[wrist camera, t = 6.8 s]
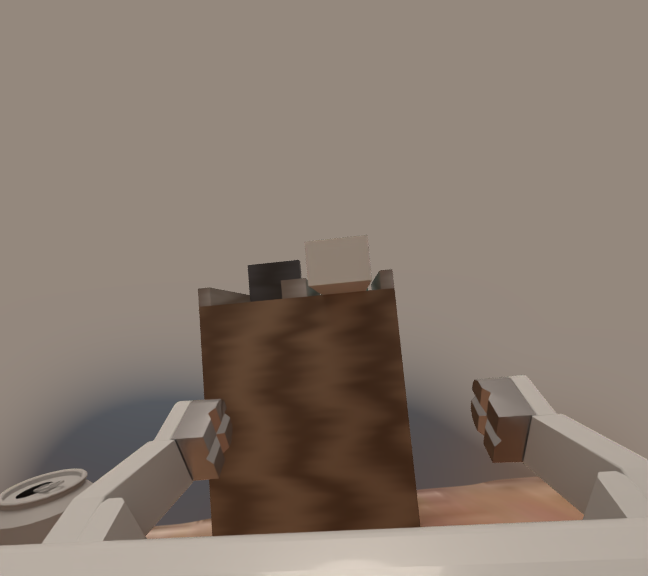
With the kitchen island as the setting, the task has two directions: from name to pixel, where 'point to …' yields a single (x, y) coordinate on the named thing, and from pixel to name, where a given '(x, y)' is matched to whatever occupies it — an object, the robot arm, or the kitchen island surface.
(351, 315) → the wooden desk organizer
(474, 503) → the kitchen island surface
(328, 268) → the teal and white bar
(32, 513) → the can
